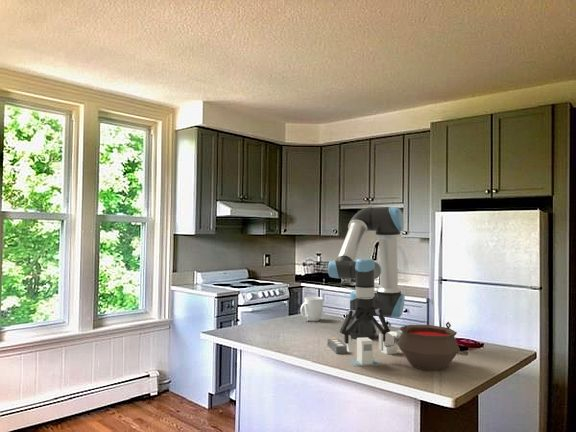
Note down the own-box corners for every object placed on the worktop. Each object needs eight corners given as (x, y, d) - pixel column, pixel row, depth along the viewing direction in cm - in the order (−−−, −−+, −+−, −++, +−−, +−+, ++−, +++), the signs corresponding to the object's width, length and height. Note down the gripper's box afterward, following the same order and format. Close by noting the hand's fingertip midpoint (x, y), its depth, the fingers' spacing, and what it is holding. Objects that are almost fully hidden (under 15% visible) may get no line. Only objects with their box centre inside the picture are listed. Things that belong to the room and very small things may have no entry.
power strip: (334, 342, 213) (334, 334, 213) (347, 353, 194) (347, 345, 194) (323, 343, 212) (324, 335, 213) (336, 354, 193) (336, 345, 193)
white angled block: (373, 348, 195) (381, 329, 197) (388, 357, 198) (396, 339, 201) (378, 350, 191) (386, 331, 194) (394, 359, 195) (402, 340, 197)
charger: (366, 359, 185) (366, 336, 185) (373, 364, 178) (373, 341, 178) (356, 359, 184) (356, 337, 184) (362, 364, 177) (362, 341, 177)
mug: (306, 323, 258) (306, 300, 258) (295, 320, 266) (295, 298, 267) (326, 320, 266) (326, 298, 267) (314, 317, 275) (315, 296, 276)
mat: (374, 359, 186) (374, 358, 186) (383, 365, 177) (383, 364, 177) (346, 360, 184) (346, 359, 184) (354, 367, 175) (354, 366, 175)
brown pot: (424, 377, 163) (424, 331, 164) (384, 360, 185) (384, 319, 186) (474, 370, 173) (473, 326, 173) (430, 354, 195) (430, 316, 195)
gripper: (390, 295, 187) (390, 346, 187) (332, 296, 183) (332, 349, 182) (398, 298, 180) (398, 351, 180) (337, 299, 175) (337, 354, 175)
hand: (365, 350), depth 181 cm, fingers open, 13 cm apart
